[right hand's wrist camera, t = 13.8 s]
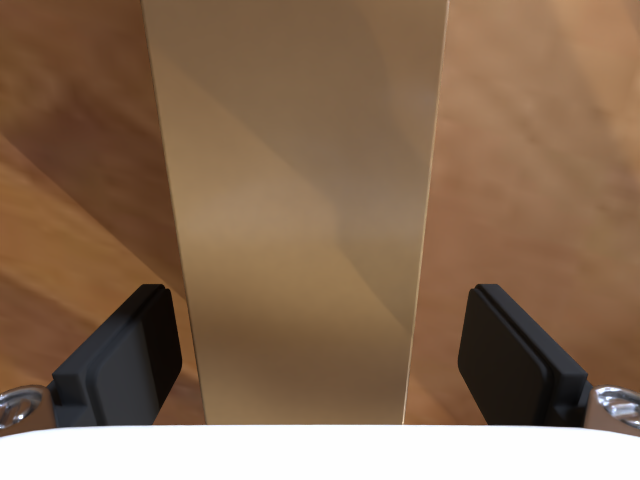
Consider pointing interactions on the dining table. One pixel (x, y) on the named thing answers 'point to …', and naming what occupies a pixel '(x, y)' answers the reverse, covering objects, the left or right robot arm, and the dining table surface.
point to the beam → (299, 196)
